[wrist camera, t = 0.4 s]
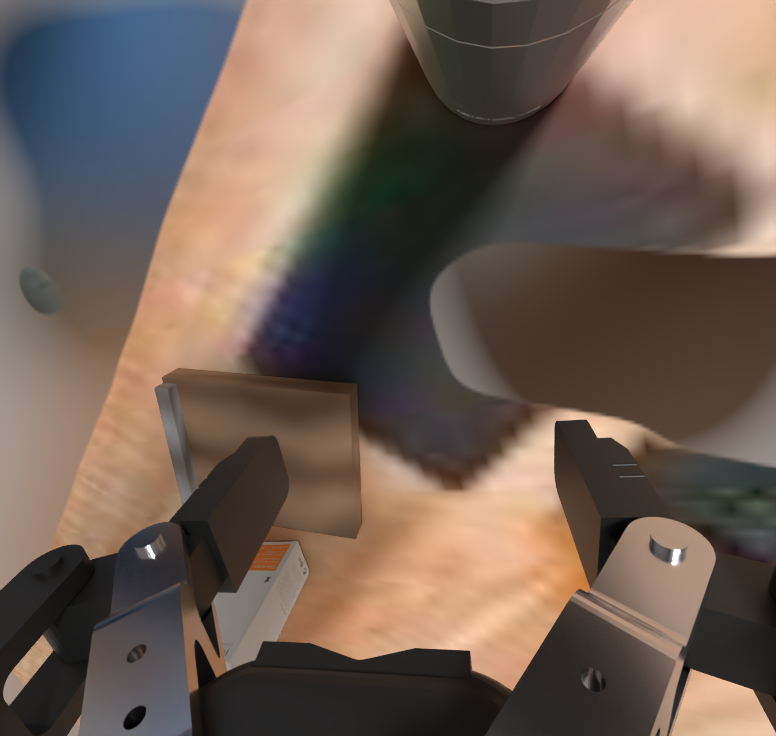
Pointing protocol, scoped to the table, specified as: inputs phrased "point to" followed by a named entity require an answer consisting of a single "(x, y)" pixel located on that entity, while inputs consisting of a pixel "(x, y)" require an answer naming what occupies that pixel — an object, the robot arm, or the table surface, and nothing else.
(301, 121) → the table surface
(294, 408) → the walnut riser
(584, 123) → the table surface
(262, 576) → the skincare box
